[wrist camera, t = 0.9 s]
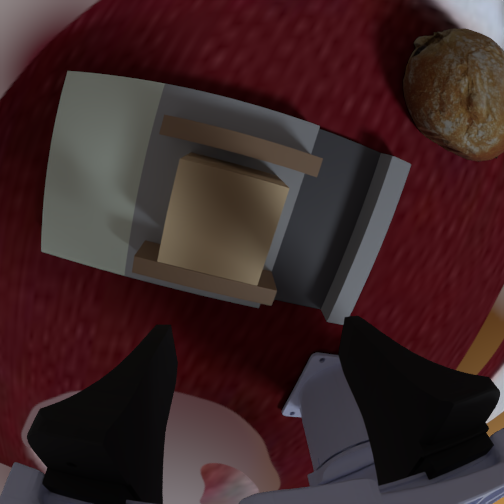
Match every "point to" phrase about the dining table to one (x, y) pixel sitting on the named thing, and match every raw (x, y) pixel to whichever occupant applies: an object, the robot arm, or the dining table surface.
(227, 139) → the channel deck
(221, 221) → the wooden block
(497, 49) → the bread roll
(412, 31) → the dining table surface
